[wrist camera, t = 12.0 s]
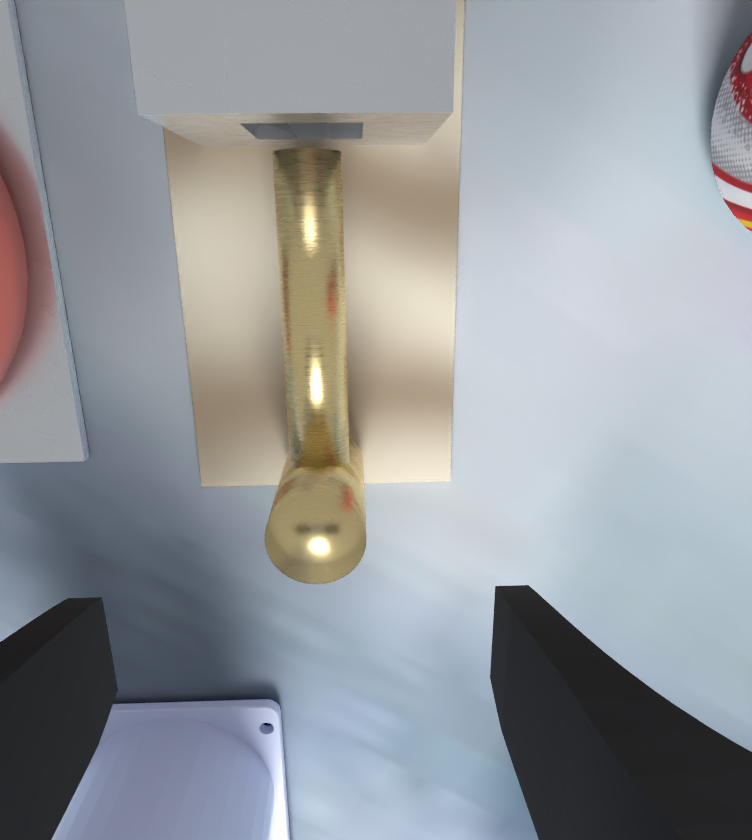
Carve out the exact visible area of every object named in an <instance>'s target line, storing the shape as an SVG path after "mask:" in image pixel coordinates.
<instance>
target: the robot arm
mask: <svg viewBox="0 0 752 840" xmlns="http://www.w3.org/2000/svg"><path fill="white" fill-rule="evenodd" d="M490 679H491V684H492V689H493V693H494V698H495V703H496V708H497V712H498V717H499V721H500V725H501V730H502V733H503V736H504V739H505V742H506V745H507V748H508V751H509V754H510V757H511V760H512V763H513V766H514V769H515V772H516V775H517V778H518V781H519V783H520V786H521V789H522V792H523V795H524V798H525V801H526V804H527V807H528V809H529V812H530V815H531V818H532V821H533V824H534V827H535V830H536V833H537V836H538V838H539V840H752V752H751V751H749V750H747V749H745V748H743V747H742V746H740V745H738V744H736V743H734V742H733V741H731V740H729V739H728V738H726V737H724V736H723V735H721V734H719V733H718V732H716V731H714V730H713V729H711V728H709V727H708V726H706V725H705V724H703V723H702V722H700V721H699V720H697V719H696V718H694V717H692V716H691V715H689V714H688V713H686V712H685V711H683V710H682V709H680V708H679V707H677V706H676V705H674V704H672V703H671V702H670V701H668V700H667V699H665V698H664V697H662V696H661V695H660V694H658V693H657V692H655V691H654V690H653V689H651V688H650V687H649V686H647V685H646V684H645V683H643V682H642V681H641V680H639V679H638V678H637V677H635V676H634V675H633V674H631V673H630V672H629V671H627V670H626V669H625V668H623V667H622V666H621V665H620V664H618V663H617V662H616V661H615V660H613V659H612V658H611V657H610V656H608V655H607V654H606V653H605V652H603V651H602V650H601V649H600V648H599V647H597V646H596V645H595V644H594V643H593V642H592V641H590V640H589V639H588V638H587V637H586V636H584V635H583V634H582V633H581V632H580V631H579V630H578V629H576V628H575V627H574V626H573V625H572V624H571V623H570V622H569V621H567V620H566V619H565V618H564V617H563V616H562V615H561V614H560V613H559V612H557V611H556V610H555V609H554V608H553V607H552V606H551V605H550V604H549V603H548V602H546V601H545V600H544V599H543V598H542V597H541V596H540V595H539V594H538V593H537V592H535V591H534V590H533V589H532V588H531V587H530V586H528V585H523V586H495V604H494V621H493V639H492V656H491V674H490ZM117 690H118V689H117V683H116V677H115V672H114V666H113V660H112V654H111V648H110V642H109V636H108V630H107V625H106V619H105V613H104V607H103V601H102V597H100V598H68V599H66V600H64V601H63V602H61V603H59V604H57V605H56V606H54V607H52V608H51V609H49V610H48V611H46V612H45V613H43V614H42V615H40V616H39V617H37V618H35V619H34V620H32V621H31V622H29V623H28V624H26V625H25V626H23V627H22V628H21V629H19V630H18V631H16V632H15V633H13V634H12V635H10V636H9V637H7V638H6V639H4V640H3V641H1V642H0V840H290V832H289V818H288V804H287V790H286V776H285V762H284V749H283V735H282V721H281V709H280V706H279V705H278V704H277V703H276V702H275V701H273V700H268V699H257V700H226V701H195V702H165V703H134V704H113V702H114V699H115V696H116V693H117ZM263 723H270V724H272V725H270V726H266V725H264V724H263Z"/></svg>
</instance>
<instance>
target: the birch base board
mask: <svg viewBox="0 0 752 840" xmlns="http://www.w3.org/2000/svg"><path fill="white" fill-rule="evenodd" d="M464 10H465V0H456V23H455V61H454V99H453V113H452V114H451V115H450V116H449V118H448V119H447V120H446V121H445V122H444V123H443V124H442V125H441V127H440V128H439V129H438V130H437V131H436V132H435V133H434V134H433V136H432V137H431V138H430V139H429V140H428V141H427V142H426V143H425V144H424V145H363V146H216V147H202V146H200V145H198V144H196V143H194V142H192V141H190V140H188V139H186V138H184V137H182V136H180V135H178V134H176V133H174V132H172V131H170V130H168V129H166V128H164V127H163V131H164V140H165V150H166V159H167V169H168V178H169V187H170V197H171V206H172V215H173V225H174V234H175V243H176V253H177V262H178V271H179V281H180V290H181V299H182V309H183V318H184V328H185V337H186V346H187V356H188V365H189V374H190V384H191V393H192V402H193V412H194V421H195V430H196V440H197V449H198V459H199V468H200V477H201V487H221V486H265V485H279V482H280V478H281V475H282V471H283V468H284V465H285V461H286V458H287V454H288V451H289V437H288V419H287V402H286V384H285V367H284V350H283V332H282V315H281V297H280V280H279V262H278V245H277V228H276V210H275V193H274V175H273V158H272V151H275V150H280V149H293V148H320V149H333V150H339V151H341V152H342V184H343V224H344V264H345V304H346V344H347V384H348V424H349V437H350V438H352V439H353V440H354V441H355V443H356V444H357V445H358V447H359V449H360V450H361V453H362V456H363V462H364V483H399V482H444V481H450V474H451V441H452V408H453V375H454V342H455V308H456V275H457V242H458V209H459V176H460V142H461V109H462V76H463V43H464Z"/></svg>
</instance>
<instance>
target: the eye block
mask: <svg viewBox="0 0 752 840" xmlns="http://www.w3.org/2000/svg"><path fill="white" fill-rule="evenodd" d="M124 6H125V15H126V23H127V32H128V40H129V49H130V57H131V66H132V74H133V83H134V91H135V100H136V108H137V114H138V115H140V116H142V117H144V118H146V119H148V120H150V121H152V122H154V123H156V124H158V125H160V126H162V127H164V128H166V129H168V130H170V131H172V132H174V133H176V134H178V135H180V136H182V137H184V138H186V139H188V140H190V141H192V142H194V143H196V144H198V145H200V146H202V147H216V146H363V145H424V144H425V143H426V142H427V141H428V140H429V139H430V138H431V137H432V136H433V134H434V133H435V132H436V131H437V130H438V129H439V128H440V127H441V125H442V124H443V123H444V122H445V121H446V120H447V119H448V118H449V116H450V115H451V114H452V113H453V99H454V61H455V23H456V0H124Z"/></svg>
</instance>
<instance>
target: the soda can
mask: <svg viewBox="0 0 752 840" xmlns="http://www.w3.org/2000/svg"><path fill="white" fill-rule="evenodd" d="M710 146H711V158H712V166H713V170H714V174H715V178H716V183H717V185H718V187H719V190H720V192H721V194H722V197H723V199H724V201H725V202H726V204H727V205H728V207H729V209H730V210H731V212H732V213H733V215H734V216H735V217H736V218H737V219H738V220H739V221H740V222H741V223H742V224H743V225H744V226H745V227H746V228H747V229H749V230H750V231H752V33H751V34H750V35H749V37H748V38H747V39H746V41H745V42H744V44H743V45H742V47H741V48H740V50H739V51H738V53H737V54H736V56H735V57H734V59H733V61H732V63H731V65H730V67H729V69H728V71H727V73H726V75H725V77H724V79H723V82H722V85H721V88H720V91H719V94H718V97H717V99H716V104H715V109H714V113H713V118H712V125H711V141H710Z"/></svg>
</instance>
